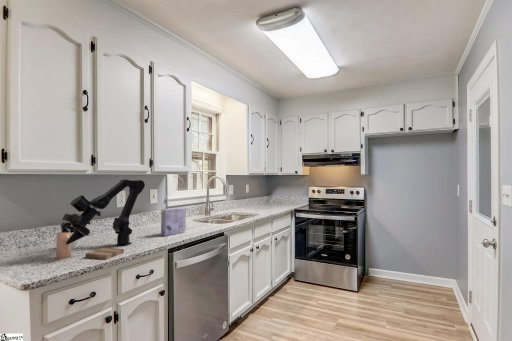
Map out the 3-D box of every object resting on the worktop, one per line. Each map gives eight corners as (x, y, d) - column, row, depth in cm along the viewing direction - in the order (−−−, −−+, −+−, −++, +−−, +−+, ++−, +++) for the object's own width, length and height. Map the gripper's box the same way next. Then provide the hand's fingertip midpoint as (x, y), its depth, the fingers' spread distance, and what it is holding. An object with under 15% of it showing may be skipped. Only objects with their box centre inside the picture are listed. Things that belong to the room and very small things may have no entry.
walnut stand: (104, 251, 151) (104, 247, 151) (123, 253, 148) (123, 249, 148) (85, 257, 139) (85, 253, 139) (106, 259, 137) (106, 255, 137)
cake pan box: (182, 231, 208) (182, 207, 209) (187, 232, 205) (187, 207, 206) (160, 235, 192) (160, 209, 193) (165, 236, 189) (165, 209, 190)
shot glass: (65, 249, 156) (65, 236, 156) (64, 246, 162) (64, 234, 162) (79, 247, 160) (80, 234, 160) (78, 245, 166) (78, 232, 166)
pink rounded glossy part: (64, 255, 144) (64, 231, 144) (73, 256, 142) (74, 231, 143) (53, 258, 138) (53, 233, 138) (63, 259, 137) (63, 234, 137)
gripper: (65, 206, 150) (39, 231, 140) (84, 208, 140) (58, 235, 130) (80, 219, 156) (57, 244, 146) (99, 222, 146) (76, 249, 136)
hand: (61, 242), depth 140 cm, fingers open, 9 cm apart
